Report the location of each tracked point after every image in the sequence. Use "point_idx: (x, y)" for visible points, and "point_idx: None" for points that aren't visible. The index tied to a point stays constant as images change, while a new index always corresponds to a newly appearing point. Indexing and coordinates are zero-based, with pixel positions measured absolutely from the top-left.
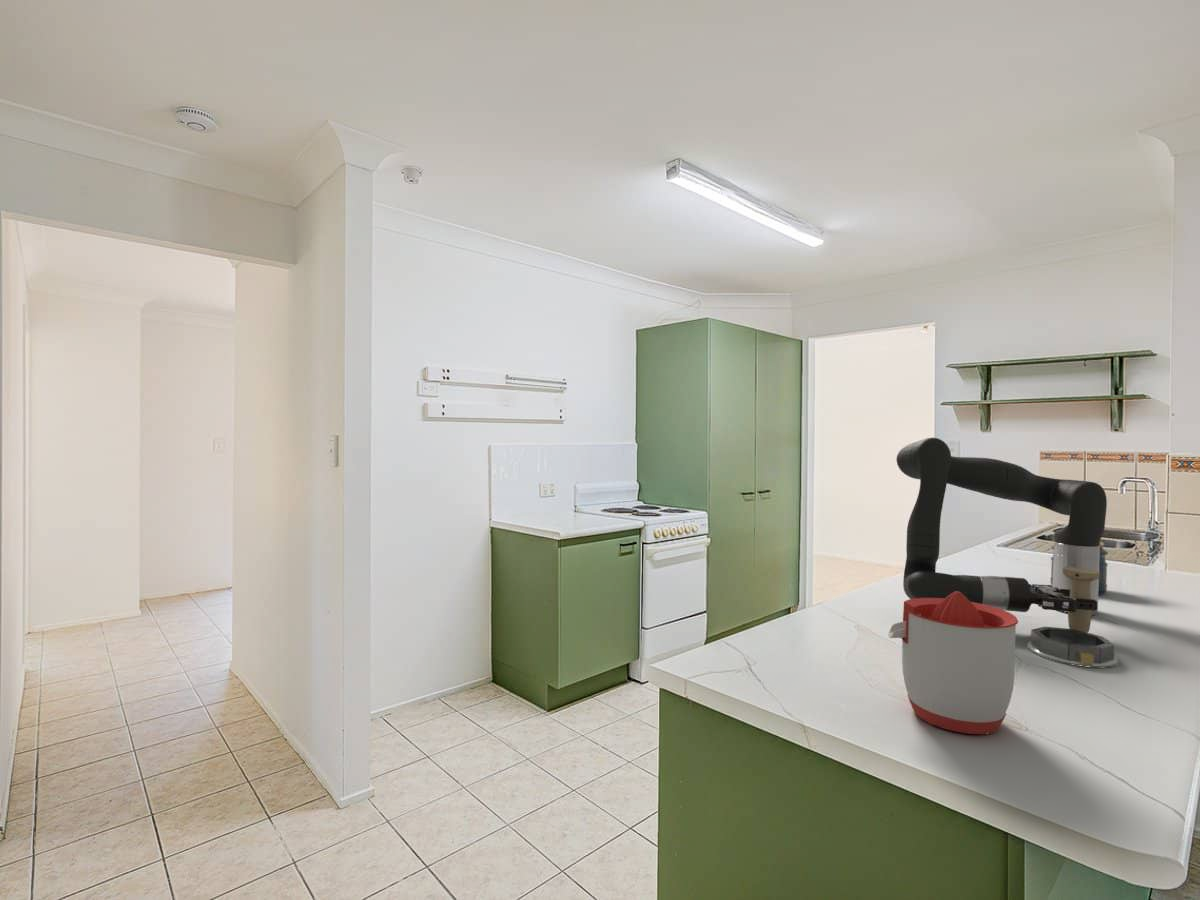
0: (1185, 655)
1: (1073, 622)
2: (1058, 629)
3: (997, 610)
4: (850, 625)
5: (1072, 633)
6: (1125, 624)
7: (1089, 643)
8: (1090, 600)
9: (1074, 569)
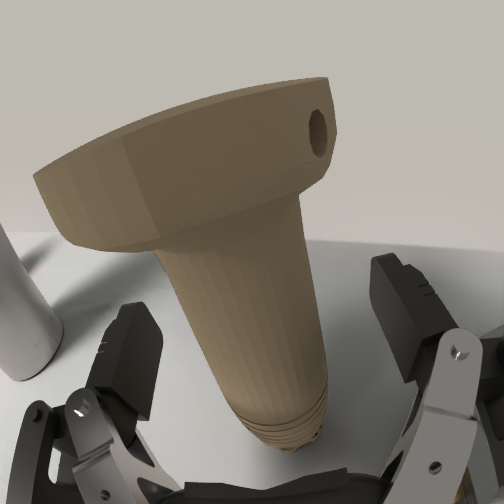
0: (324, 244)
1: (315, 426)
2: (494, 470)
3: None
4: None
5: None
6: (115, 294)
7: None
8: (405, 271)
9: (159, 116)
